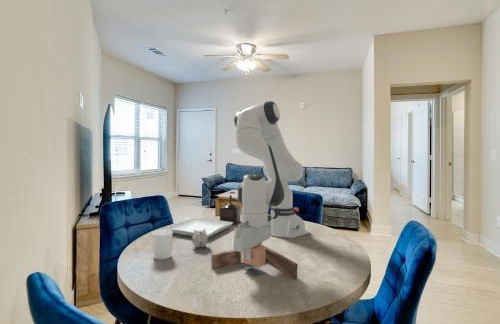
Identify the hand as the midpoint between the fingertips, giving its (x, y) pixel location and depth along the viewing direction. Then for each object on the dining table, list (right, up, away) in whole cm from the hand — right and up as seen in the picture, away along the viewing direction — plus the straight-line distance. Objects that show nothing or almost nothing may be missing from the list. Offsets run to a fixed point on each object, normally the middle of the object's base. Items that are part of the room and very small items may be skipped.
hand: (253, 256), depth 101 cm
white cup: (-37, -4, +12) cm, 39 cm away
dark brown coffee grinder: (-11, -3, +68) cm, 68 cm away
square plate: (-28, -3, +50) cm, 57 cm away
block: (0, -2, 0) cm, 2 cm away
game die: (-24, -4, +23) cm, 33 cm away
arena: (0, -5, -2) cm, 5 cm away
